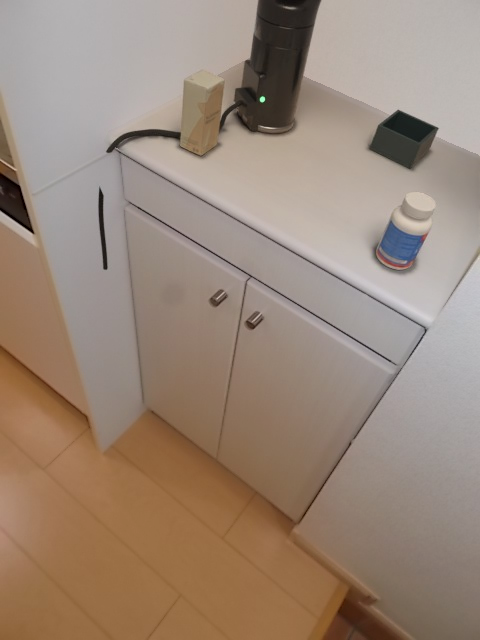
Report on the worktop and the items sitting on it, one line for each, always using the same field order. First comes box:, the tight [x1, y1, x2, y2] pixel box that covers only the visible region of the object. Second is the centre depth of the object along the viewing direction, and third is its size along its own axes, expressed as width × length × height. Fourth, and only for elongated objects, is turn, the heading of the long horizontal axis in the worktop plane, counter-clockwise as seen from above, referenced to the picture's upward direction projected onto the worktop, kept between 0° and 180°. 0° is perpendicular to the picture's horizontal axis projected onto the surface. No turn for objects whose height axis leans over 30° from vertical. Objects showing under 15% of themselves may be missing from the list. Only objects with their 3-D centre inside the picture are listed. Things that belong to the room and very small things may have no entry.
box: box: [179, 69, 226, 156], centre depth 82 cm, size 5×4×11 cm
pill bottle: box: [375, 191, 437, 271], centre depth 70 cm, size 6×5×10 cm
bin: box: [369, 109, 440, 169], centre depth 91 cm, size 8×8×5 cm
